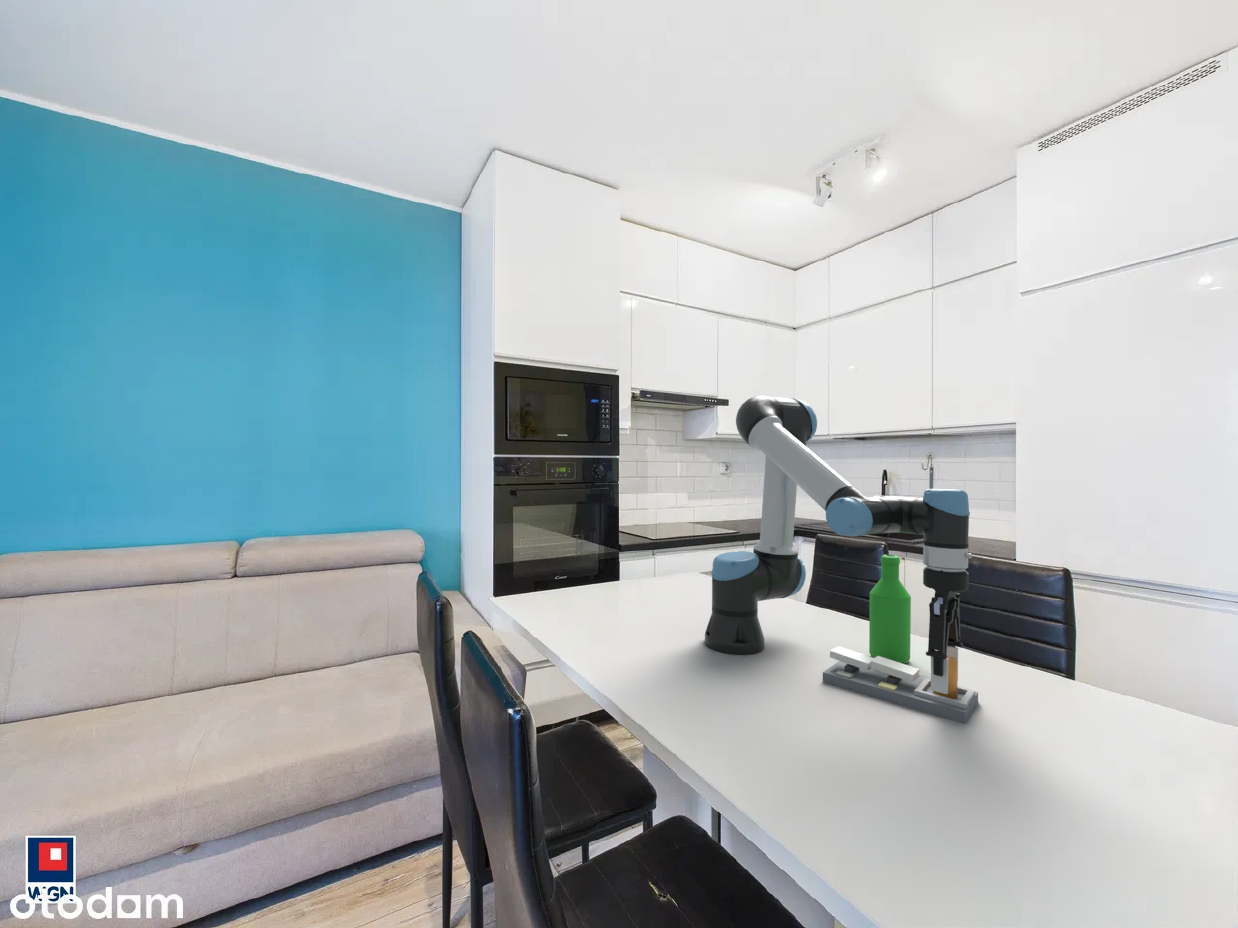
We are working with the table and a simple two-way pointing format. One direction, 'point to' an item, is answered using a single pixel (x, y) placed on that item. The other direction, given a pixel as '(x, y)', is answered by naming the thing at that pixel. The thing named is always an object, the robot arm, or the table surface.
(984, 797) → the table surface
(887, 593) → the bottle
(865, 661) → the block
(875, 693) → the panel
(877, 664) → the breaker
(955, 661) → the pin
